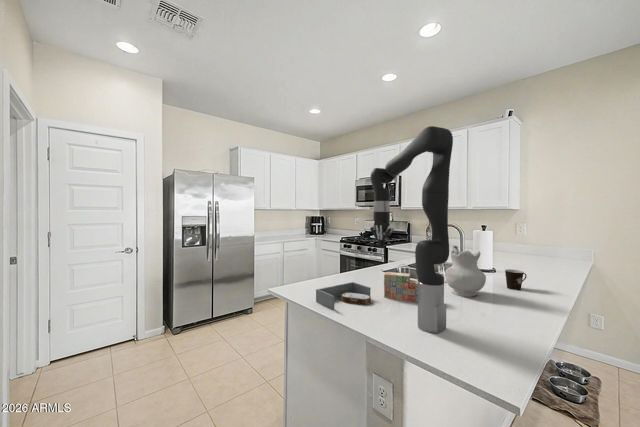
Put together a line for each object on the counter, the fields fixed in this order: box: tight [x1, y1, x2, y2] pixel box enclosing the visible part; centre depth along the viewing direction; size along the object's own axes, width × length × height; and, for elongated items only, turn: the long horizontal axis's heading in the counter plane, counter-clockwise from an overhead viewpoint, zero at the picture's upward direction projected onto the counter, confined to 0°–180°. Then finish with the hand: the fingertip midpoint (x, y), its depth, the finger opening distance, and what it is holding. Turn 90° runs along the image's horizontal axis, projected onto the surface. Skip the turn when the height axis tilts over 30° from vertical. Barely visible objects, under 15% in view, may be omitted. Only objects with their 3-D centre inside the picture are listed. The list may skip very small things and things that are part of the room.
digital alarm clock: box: [340, 293, 372, 306], centre depth 133 cm, size 15×3×8 cm
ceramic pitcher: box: [444, 245, 487, 298], centre depth 146 cm, size 22×20×25 cm
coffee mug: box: [504, 268, 527, 291], centre depth 154 cm, size 12×9×10 cm
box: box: [315, 281, 371, 311], centre depth 133 cm, size 13×24×6 cm, turn 125°
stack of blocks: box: [383, 271, 418, 303], centre depth 136 cm, size 21×6×12 cm, turn 66°
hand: (381, 247), depth 127 cm, fingers closed
